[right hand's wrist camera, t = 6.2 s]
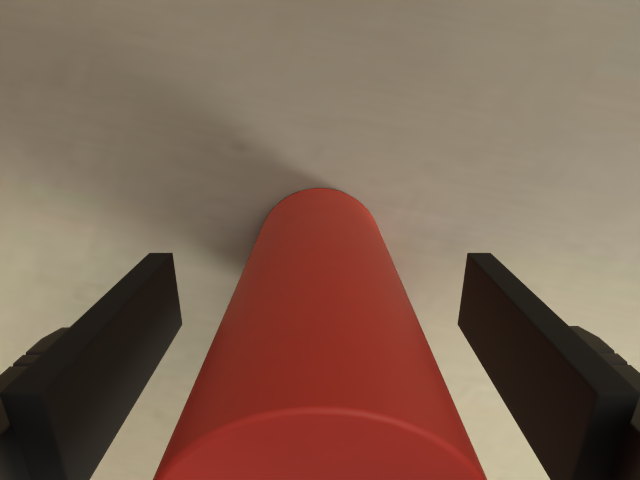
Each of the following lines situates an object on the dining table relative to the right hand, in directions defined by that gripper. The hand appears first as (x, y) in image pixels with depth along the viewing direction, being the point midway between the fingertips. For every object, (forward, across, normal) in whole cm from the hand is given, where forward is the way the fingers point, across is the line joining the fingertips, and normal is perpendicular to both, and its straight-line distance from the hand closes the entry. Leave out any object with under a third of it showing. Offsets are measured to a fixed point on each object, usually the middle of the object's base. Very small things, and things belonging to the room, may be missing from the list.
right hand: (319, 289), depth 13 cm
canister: (+4, 0, 0) cm, 4 cm away
